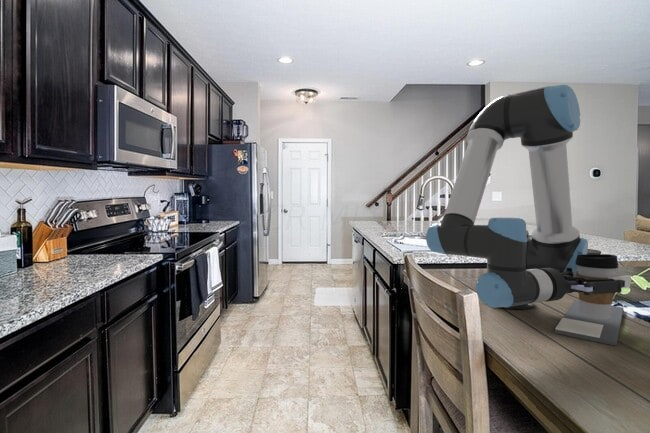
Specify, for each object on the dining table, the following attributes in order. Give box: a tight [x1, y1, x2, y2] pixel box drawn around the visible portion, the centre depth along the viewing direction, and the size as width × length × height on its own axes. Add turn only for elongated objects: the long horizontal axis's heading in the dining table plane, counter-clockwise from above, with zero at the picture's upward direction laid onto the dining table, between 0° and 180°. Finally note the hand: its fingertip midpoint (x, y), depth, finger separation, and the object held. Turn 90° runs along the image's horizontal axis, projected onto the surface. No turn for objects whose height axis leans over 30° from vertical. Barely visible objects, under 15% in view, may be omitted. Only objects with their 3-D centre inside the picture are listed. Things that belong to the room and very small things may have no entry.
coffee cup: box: [575, 253, 619, 319], centre depth 88 cm, size 8×8×15 cm
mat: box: [554, 299, 624, 346], centre depth 98 cm, size 32×12×1 cm, turn 138°
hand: (609, 277), depth 90 cm, fingers closed on coffee cup, 8 cm apart
